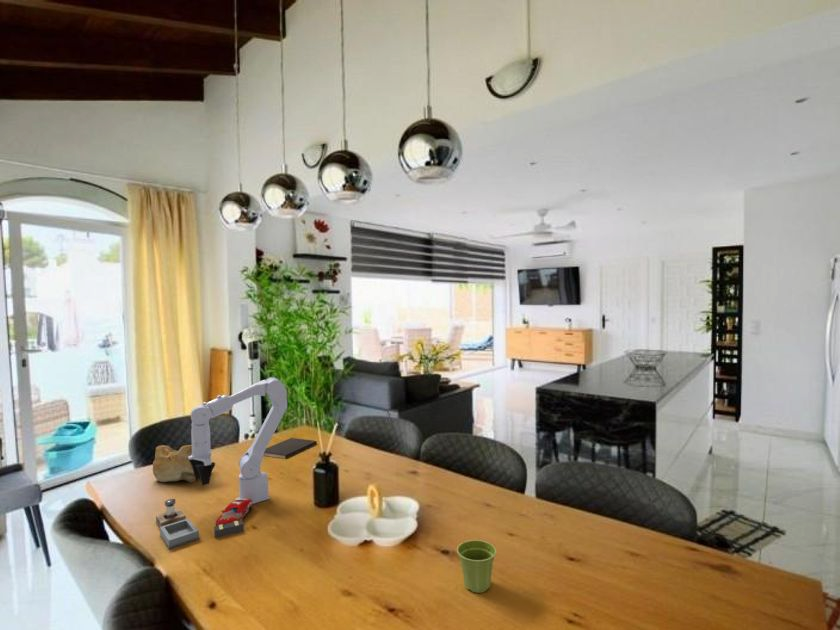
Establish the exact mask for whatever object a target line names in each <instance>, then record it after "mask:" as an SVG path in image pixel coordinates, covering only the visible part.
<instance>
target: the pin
mask: <svg viewBox="0 0 840 630" xmlns="http://www.w3.org/2000/svg"><path fill="white" fill-rule="evenodd" d="M175 504H176V499H175V498H169V499H166V500H165V501H164V506H165V511H166V512H165V513H166V519H169V518H172V517H175V510H176V509H175V508H176V507H175Z"/></svg>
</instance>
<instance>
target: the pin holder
mask: <svg viewBox="0 0 840 630" xmlns="http://www.w3.org/2000/svg"><path fill="white" fill-rule="evenodd" d="M185 519H187V518H186V514H185V513H184V512H183V511H182V510H181V509H180V508H177V509H175V517H172V518H169V519H166V512H163V513H159V514H157V515H155V523H156V524H157V526H158V528H160V527H162V526H165V525H168V524H172V523H175V522H178V521H181V520H185Z"/></svg>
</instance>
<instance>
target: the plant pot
mask: <svg viewBox="0 0 840 630" xmlns="http://www.w3.org/2000/svg"><path fill="white" fill-rule="evenodd" d="M456 553H457V555H458V558H459V560H460V565H461V570H462V575H463V582H464V586H465V588H466V589H467V590H470V592H472V593H477V594H478V593H479V594H480V593H485V592H487V590H489V589H490V588H491V580H492V572H493V563H494V560H495V557H496V555H497V549H496V547H495V546H494V545H493V544H492V543H490V542H488V541H485V540H480V539H471V540H465V541H463V542H461V543H459V545H457V547H456Z"/></svg>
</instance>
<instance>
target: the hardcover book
mask: <svg viewBox="0 0 840 630" xmlns="http://www.w3.org/2000/svg"><path fill="white" fill-rule="evenodd" d="M317 444H318V443H317V441H316V440H314V439H312V440H311V439H304V438H297V437H296V438H295V437H290V438H288V439H284V440H283V441H280V442H278V443H275V444H274V445H271V446H267V448H266V450H265V452H264V455H263V457H264V456H265V457H270V458H271V457H272V458H278V459H284V460H286V459H289V458H290V457H293V456H295V455H297V454H299V453H302V452H303V451H306V450H307V449H309V448H312V447H314V446H316V445H317Z"/></svg>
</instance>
